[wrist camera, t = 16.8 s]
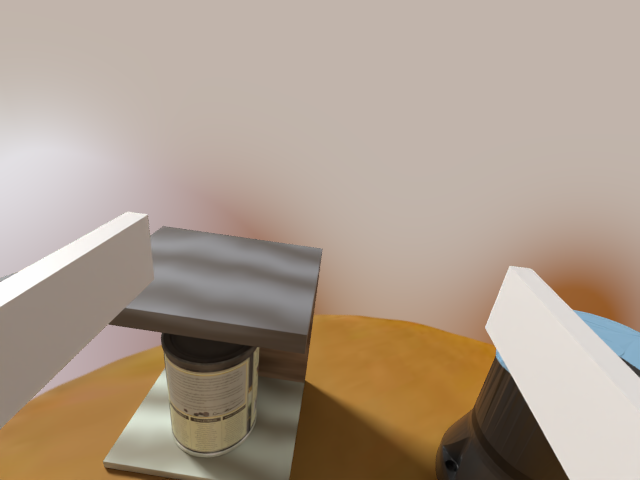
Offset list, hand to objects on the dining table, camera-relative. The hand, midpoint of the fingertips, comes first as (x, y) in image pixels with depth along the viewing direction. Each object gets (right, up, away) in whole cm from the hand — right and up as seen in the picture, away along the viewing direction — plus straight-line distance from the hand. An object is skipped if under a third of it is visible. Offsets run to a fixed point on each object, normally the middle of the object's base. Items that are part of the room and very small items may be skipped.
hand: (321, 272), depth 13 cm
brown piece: (-13, -22, +31) cm, 40 cm away
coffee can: (-13, -21, +30) cm, 39 cm away
